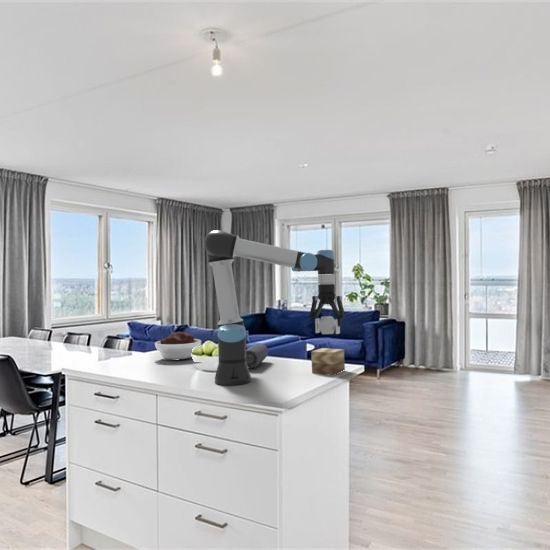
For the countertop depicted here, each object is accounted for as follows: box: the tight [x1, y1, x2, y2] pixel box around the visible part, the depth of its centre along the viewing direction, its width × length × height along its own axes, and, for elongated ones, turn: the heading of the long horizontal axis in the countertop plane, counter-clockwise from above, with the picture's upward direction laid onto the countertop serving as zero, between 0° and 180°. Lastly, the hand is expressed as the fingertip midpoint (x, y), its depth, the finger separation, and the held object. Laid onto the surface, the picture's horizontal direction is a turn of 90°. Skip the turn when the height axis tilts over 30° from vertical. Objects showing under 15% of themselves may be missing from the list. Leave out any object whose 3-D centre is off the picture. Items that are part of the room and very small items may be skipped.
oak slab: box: [310, 347, 345, 364], centre depth 221 cm, size 11×11×5 cm
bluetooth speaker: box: [246, 343, 269, 369], centre depth 240 cm, size 23×9×10 cm, turn 168°
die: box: [318, 316, 336, 335], centre depth 221 cm, size 8×9×10 cm
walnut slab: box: [311, 360, 346, 376], centre depth 221 cm, size 11×11×5 cm
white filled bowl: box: [154, 331, 202, 360], centre depth 266 cm, size 25×25×15 cm
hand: (327, 333), depth 221 cm, fingers closed on die, 9 cm apart
